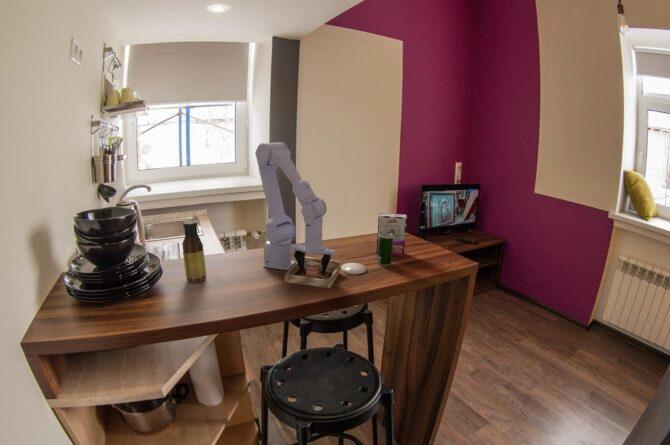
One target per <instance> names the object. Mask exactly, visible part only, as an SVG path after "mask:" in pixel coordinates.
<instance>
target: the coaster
mask: <svg viewBox="0 0 670 445" xmlns="http://www.w3.org/2000/svg"><path fill="white" fill-rule="evenodd" d="M340 269H341V271H342V272H343V273H345V274H348V275H353V276H354V275H362V274H364V273H366V271H367V267H366V265H364V264H361V263H359V262H358V263H357V262H348V263H346V262H345V263H343V264H342V265H341V266H340Z"/></svg>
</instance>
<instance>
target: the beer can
mask: <svg viewBox="0 0 670 445" xmlns="http://www.w3.org/2000/svg"><path fill="white" fill-rule="evenodd" d="M392 248H393V233H391V232H380V235H379V243H378V254H377V259H376V262H377V264H378V266H381V267H382V266H383V267H389V266H390V265H391V264H392V258H393V256H392Z"/></svg>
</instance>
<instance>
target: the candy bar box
mask: <svg viewBox="0 0 670 445" xmlns="http://www.w3.org/2000/svg"><path fill="white" fill-rule="evenodd" d="M407 222H408V215H407V214H403V213H402V214H401V213H387V212H386V213H384V212H383V213H382V212H379V214H378V221H377V239H376V249H375V250H376V252H375V253H376V255H378V243H379V235H380V232H391V233H393V248H392V257H404V256H405V246H406V245H405V244H406V234H407Z"/></svg>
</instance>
